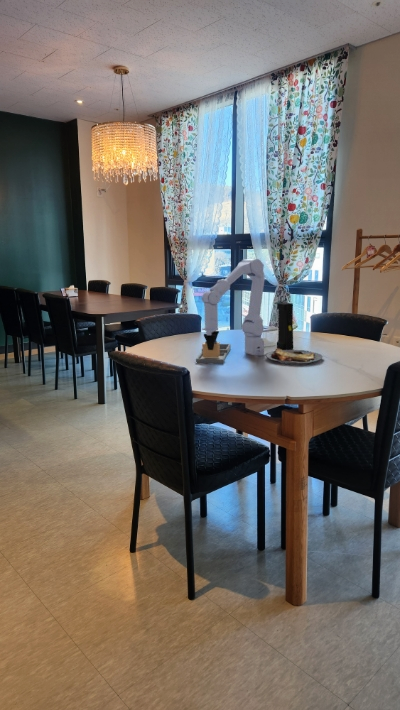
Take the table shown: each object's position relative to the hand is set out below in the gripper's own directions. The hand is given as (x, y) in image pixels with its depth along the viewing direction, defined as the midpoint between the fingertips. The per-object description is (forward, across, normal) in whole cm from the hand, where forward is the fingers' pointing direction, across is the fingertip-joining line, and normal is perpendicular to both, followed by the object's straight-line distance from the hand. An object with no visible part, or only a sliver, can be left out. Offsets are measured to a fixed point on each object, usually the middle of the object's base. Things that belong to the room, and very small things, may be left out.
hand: (211, 348), depth 213 cm
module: (+4, 0, 0) cm, 4 cm away
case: (+5, -15, 0) cm, 16 cm away
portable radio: (+6, -27, +33) cm, 43 cm away
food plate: (+6, -4, +36) cm, 37 cm away
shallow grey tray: (+5, 0, 0) cm, 5 cm away
